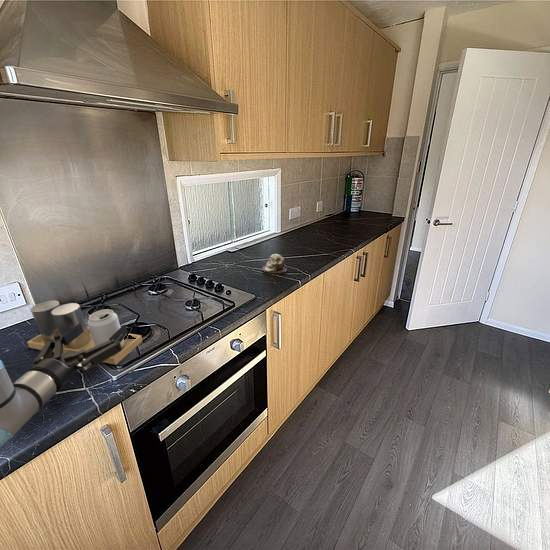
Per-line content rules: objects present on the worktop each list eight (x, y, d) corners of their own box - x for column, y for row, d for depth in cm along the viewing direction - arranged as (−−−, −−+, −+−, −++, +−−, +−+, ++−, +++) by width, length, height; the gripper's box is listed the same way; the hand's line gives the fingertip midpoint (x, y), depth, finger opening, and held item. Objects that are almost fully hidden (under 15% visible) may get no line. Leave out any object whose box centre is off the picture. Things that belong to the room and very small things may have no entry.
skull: (272, 275, 133) (263, 255, 135) (264, 283, 142) (255, 264, 144) (293, 268, 139) (284, 249, 141) (284, 276, 148) (276, 258, 150)
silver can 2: (58, 347, 89) (45, 313, 84) (78, 334, 95) (67, 302, 90) (76, 351, 87) (63, 316, 82) (95, 337, 93) (84, 304, 88)
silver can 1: (38, 343, 91) (24, 310, 86) (59, 331, 97) (47, 299, 92) (56, 347, 89) (42, 313, 84) (76, 334, 95) (64, 301, 90)
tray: (29, 348, 89) (26, 342, 88) (63, 328, 99) (60, 322, 98) (116, 366, 81) (113, 358, 80) (143, 342, 91) (141, 335, 90)
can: (110, 359, 83) (99, 323, 78) (91, 353, 85) (79, 318, 81) (131, 343, 89) (121, 309, 85) (112, 339, 92) (102, 305, 87)
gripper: (-2, 392, 67) (67, 337, 87) (99, 398, 65) (147, 340, 84) (-16, 366, 64) (58, 315, 84) (90, 371, 62) (141, 318, 81)
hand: (103, 328), depth 84 cm, fingers open, 13 cm apart
